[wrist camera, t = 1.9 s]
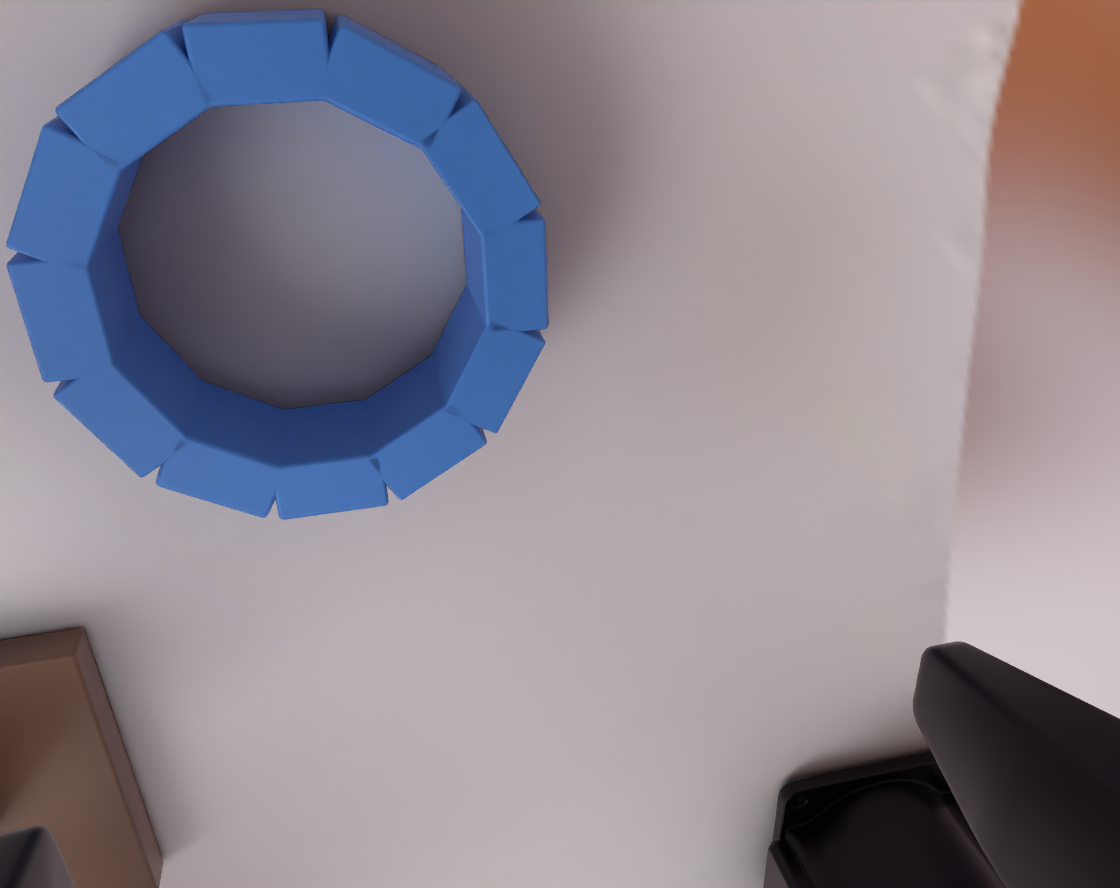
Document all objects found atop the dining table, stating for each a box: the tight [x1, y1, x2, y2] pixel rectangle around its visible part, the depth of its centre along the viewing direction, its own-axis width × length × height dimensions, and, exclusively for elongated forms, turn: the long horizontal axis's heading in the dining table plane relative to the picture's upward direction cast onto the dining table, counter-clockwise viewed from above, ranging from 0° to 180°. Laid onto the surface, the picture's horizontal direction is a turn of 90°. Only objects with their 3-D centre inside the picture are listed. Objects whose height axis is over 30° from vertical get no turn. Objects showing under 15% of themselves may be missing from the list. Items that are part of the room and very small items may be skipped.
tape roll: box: [7, 9, 549, 520], centre depth 17 cm, size 9×9×3 cm
